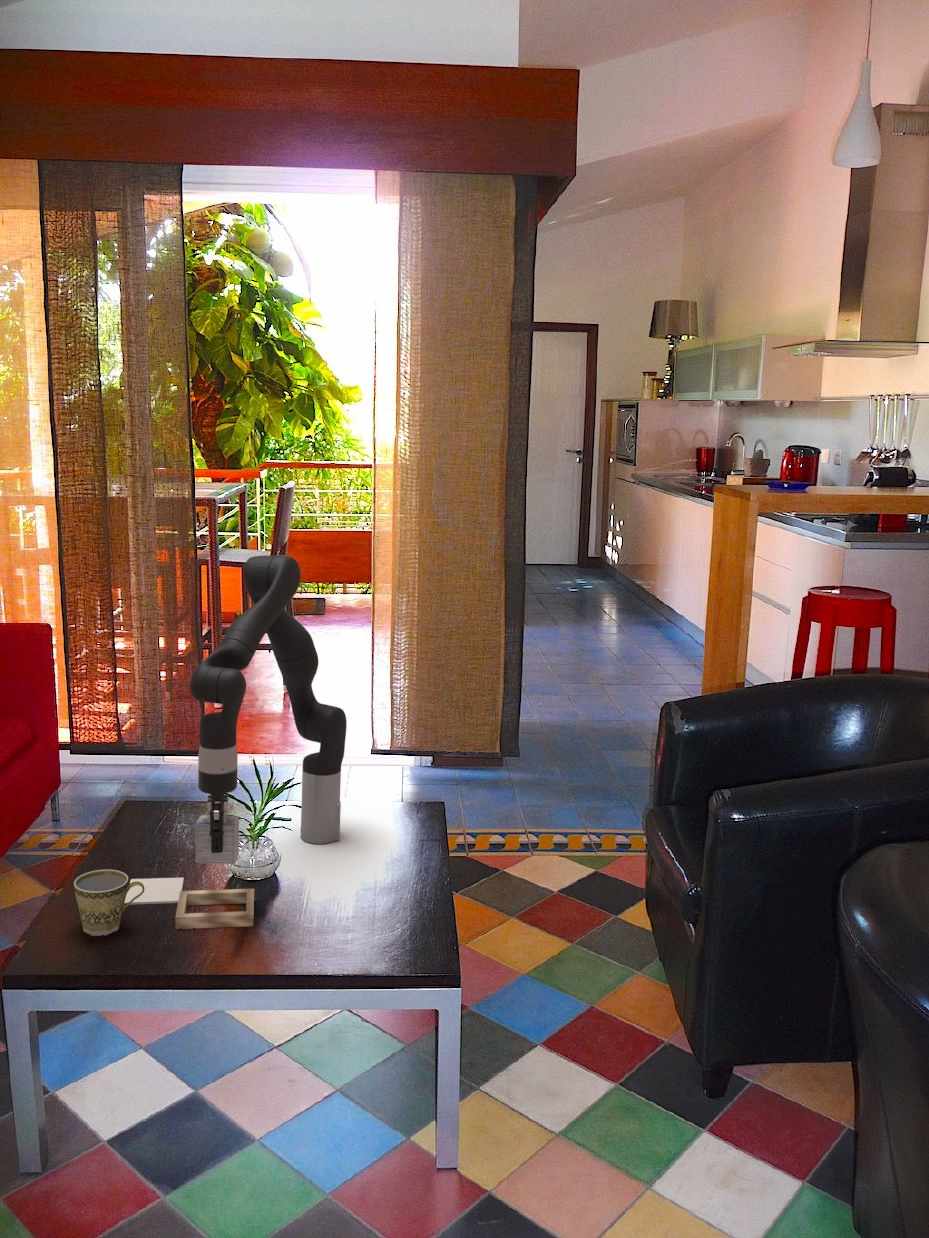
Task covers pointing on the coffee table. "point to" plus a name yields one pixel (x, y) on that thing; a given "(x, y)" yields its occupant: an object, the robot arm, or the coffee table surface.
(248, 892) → the rectangular wooden frame
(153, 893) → the pad
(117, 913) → the ceramic cup
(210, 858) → the medicine box
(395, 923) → the coffee table surface
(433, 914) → the coffee table surface
